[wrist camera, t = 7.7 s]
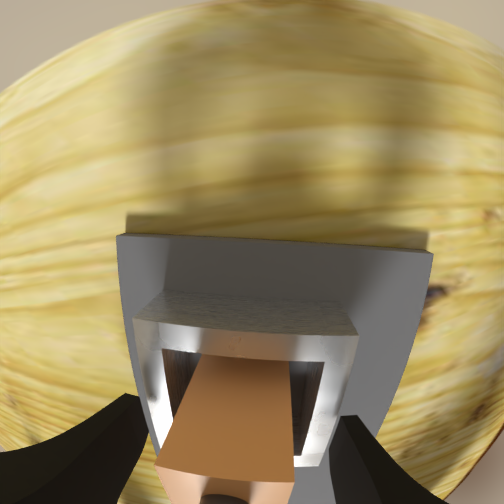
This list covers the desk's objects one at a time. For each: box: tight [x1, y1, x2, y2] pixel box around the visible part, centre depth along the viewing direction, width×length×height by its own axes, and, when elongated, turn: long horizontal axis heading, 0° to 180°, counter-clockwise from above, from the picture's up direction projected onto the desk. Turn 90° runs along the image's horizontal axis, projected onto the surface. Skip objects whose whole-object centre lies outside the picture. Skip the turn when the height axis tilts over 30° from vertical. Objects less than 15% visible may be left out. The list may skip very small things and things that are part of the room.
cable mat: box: [116, 233, 434, 504], centre depth 14 cm, size 14×23×1 cm, turn 177°
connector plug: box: [154, 354, 295, 504], centre depth 8 cm, size 4×4×9 cm
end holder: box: [132, 289, 359, 467], centre depth 11 cm, size 8×8×3 cm
